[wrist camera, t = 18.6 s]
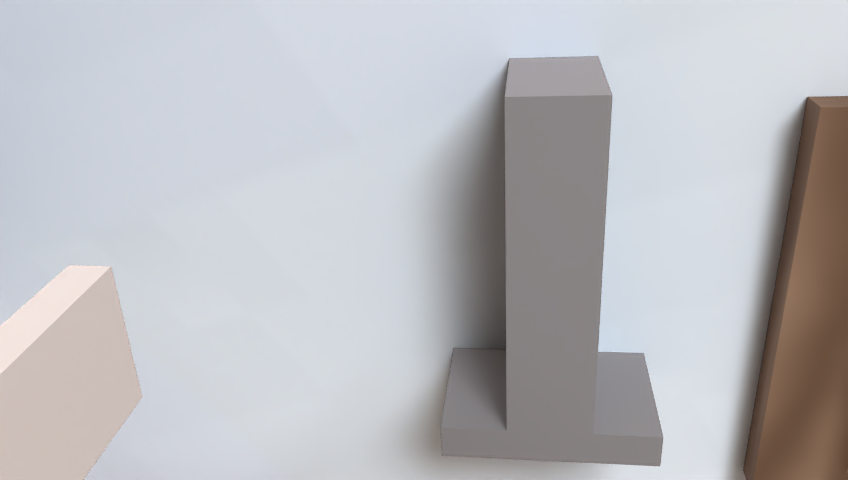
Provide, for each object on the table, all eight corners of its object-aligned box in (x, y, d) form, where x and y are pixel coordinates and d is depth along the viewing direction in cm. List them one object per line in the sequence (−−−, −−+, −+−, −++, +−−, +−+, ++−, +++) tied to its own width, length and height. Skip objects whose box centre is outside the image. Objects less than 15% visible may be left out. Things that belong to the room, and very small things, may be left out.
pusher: (454, 372, 37) (442, 455, 32) (442, 59, 31) (423, 98, 25) (641, 378, 36) (660, 466, 31) (669, 54, 30) (699, 93, 24)
